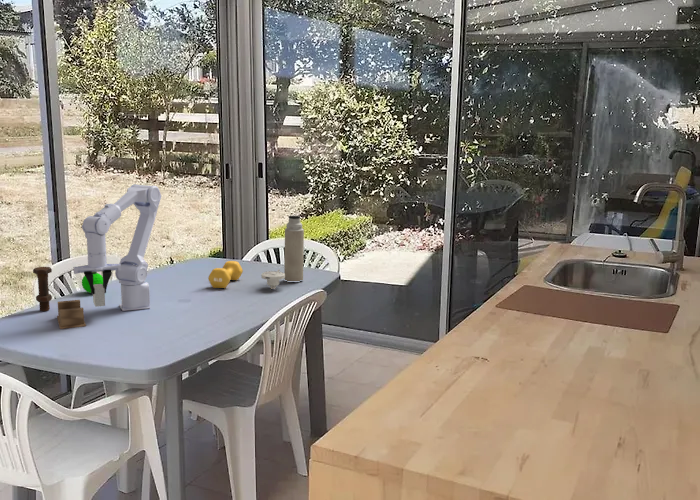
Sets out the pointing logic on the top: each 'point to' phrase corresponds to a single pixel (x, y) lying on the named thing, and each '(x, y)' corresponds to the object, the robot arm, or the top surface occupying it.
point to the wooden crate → (70, 314)
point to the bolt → (43, 287)
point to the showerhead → (273, 278)
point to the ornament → (96, 280)
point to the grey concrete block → (99, 295)
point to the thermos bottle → (294, 249)
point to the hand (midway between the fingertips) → (98, 293)
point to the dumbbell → (225, 274)
